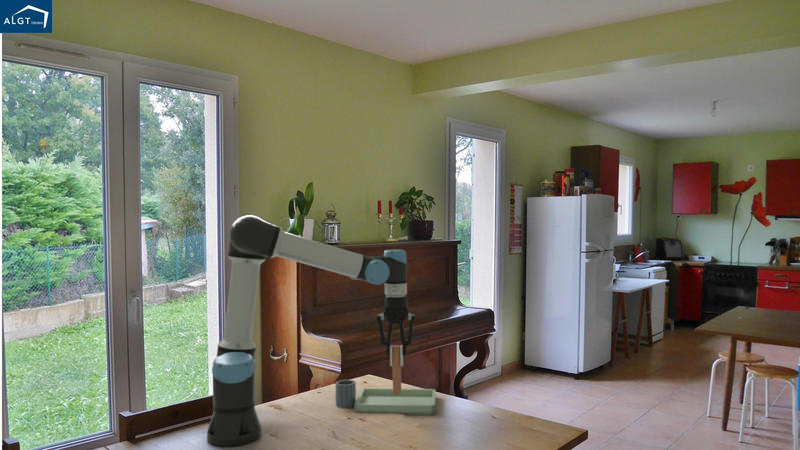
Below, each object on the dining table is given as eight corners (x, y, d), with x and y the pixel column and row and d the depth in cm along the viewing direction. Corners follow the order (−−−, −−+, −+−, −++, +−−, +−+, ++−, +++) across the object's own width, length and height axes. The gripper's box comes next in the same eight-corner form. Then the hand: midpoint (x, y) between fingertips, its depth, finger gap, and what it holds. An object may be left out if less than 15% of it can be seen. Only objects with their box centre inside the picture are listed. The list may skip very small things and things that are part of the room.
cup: (334, 409, 190) (334, 385, 190) (337, 402, 196) (337, 379, 196) (354, 409, 189) (353, 385, 189) (357, 403, 196) (356, 379, 196)
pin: (392, 396, 192) (382, 349, 192) (393, 393, 195) (383, 347, 195) (410, 392, 192) (399, 345, 192) (411, 390, 195) (400, 343, 195)
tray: (354, 413, 185) (354, 404, 185) (362, 396, 203) (362, 388, 203) (434, 414, 184) (434, 405, 184) (435, 397, 202) (435, 389, 201)
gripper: (371, 297, 190) (372, 367, 190) (418, 297, 189) (419, 368, 189) (373, 294, 197) (374, 362, 198) (419, 294, 196) (420, 362, 197)
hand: (396, 365), depth 193 cm, fingers closed on pin, 3 cm apart
